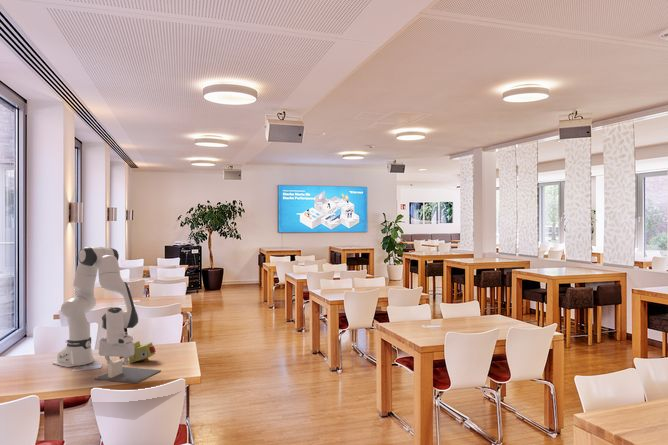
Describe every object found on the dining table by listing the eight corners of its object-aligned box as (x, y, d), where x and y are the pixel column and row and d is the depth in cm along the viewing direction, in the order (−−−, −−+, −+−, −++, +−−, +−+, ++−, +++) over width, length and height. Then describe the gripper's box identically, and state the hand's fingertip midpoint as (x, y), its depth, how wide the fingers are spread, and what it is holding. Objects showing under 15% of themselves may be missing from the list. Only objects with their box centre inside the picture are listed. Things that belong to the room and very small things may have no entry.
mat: (94, 379, 256) (94, 378, 256) (121, 367, 275) (121, 366, 275) (136, 383, 249) (136, 382, 249) (160, 371, 268) (160, 370, 268)
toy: (121, 369, 283) (153, 360, 281) (115, 349, 283) (146, 340, 281) (129, 364, 293) (160, 355, 291) (123, 345, 293) (154, 336, 291)
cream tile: (108, 377, 257) (107, 364, 257) (118, 372, 265) (118, 359, 265) (111, 377, 256) (111, 364, 256) (122, 372, 264) (122, 360, 264)
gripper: (95, 339, 260) (96, 365, 260) (128, 340, 255) (129, 367, 255) (103, 336, 266) (104, 361, 266) (135, 337, 261) (136, 363, 261)
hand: (116, 364), depth 261 cm, fingers open, 8 cm apart
